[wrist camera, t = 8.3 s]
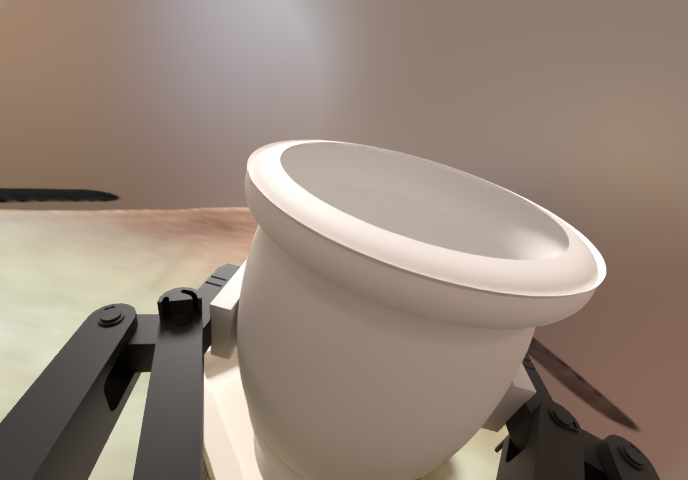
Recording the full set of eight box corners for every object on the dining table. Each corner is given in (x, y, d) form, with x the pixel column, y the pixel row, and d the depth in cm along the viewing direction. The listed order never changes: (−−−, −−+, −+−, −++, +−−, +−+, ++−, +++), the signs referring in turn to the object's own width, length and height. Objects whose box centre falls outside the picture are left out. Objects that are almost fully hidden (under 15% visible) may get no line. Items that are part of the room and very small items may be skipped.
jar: (300, 327, 22) (340, 129, 15) (427, 393, 19) (551, 193, 12) (182, 473, 13) (131, 153, 6) (389, 633, 10) (783, 420, 3)
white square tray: (177, 371, 26) (174, 349, 25) (328, 310, 37) (332, 292, 36) (256, 631, 15) (260, 620, 14) (435, 433, 27) (449, 415, 25)
